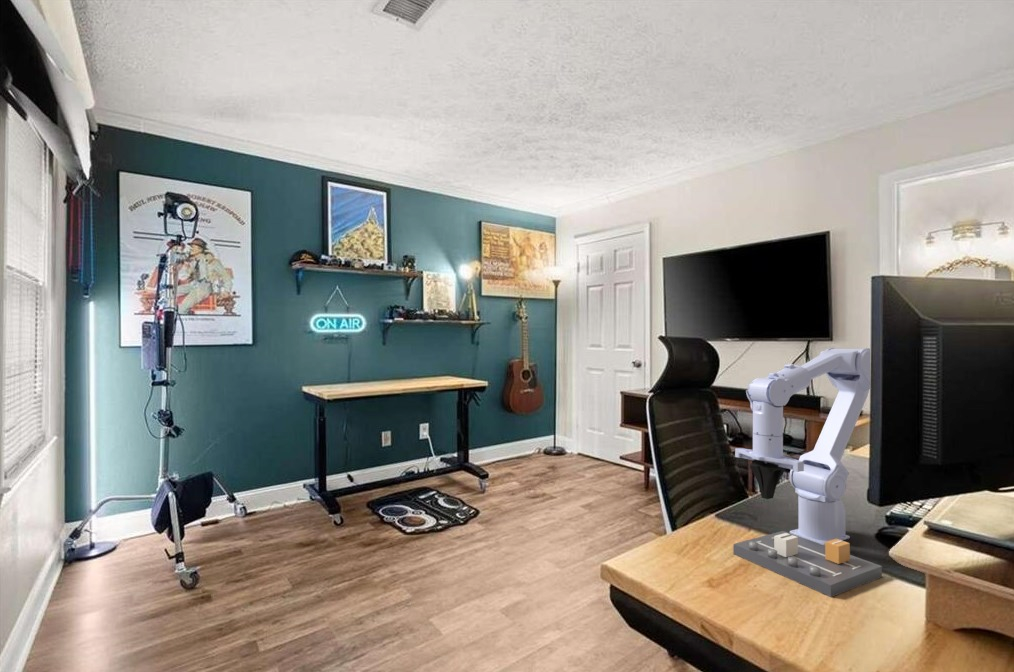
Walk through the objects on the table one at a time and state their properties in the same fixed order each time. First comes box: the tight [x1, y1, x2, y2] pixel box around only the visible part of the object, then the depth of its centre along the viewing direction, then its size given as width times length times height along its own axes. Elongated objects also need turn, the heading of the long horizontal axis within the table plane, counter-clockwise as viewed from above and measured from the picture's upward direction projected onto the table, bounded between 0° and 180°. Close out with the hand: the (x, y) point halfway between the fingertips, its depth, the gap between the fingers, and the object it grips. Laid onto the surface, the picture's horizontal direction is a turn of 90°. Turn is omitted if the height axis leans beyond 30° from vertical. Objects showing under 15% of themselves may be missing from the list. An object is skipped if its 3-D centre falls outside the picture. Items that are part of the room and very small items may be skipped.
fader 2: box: [824, 539, 851, 564], centre depth 92 cm, size 4×2×3 cm, turn 117°
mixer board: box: [732, 530, 883, 598], centre depth 95 cm, size 16×19×3 cm
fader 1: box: [774, 532, 798, 557], centre depth 95 cm, size 4×2×3 cm, turn 117°
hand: (767, 497), depth 105 cm, fingers closed
